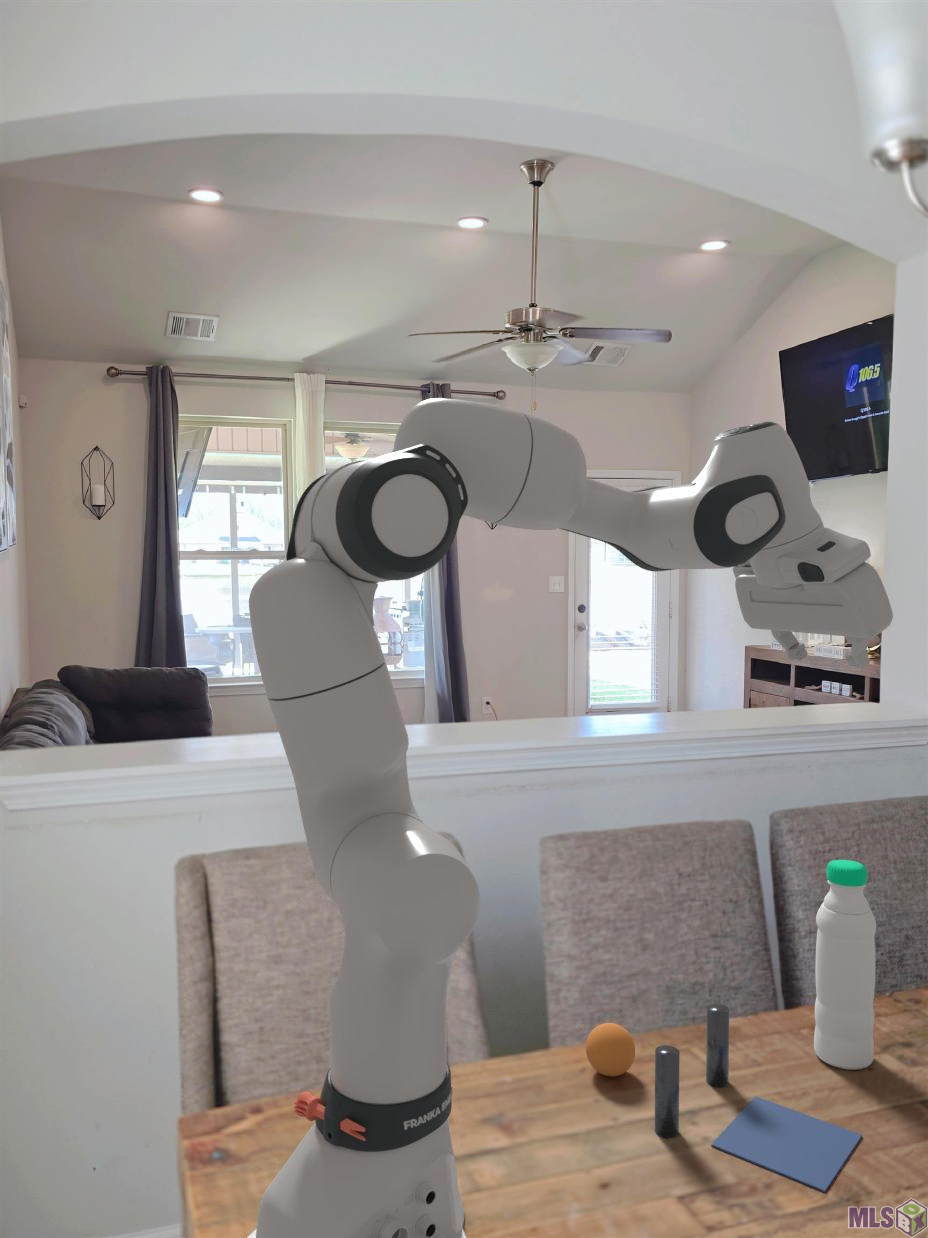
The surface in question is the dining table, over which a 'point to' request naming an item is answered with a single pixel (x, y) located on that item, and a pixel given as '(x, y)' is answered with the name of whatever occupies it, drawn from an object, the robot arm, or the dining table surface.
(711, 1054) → the far post
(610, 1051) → the ball
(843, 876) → the water bottle
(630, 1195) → the dining table surface
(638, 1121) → the dining table surface
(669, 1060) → the near post
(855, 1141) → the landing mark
